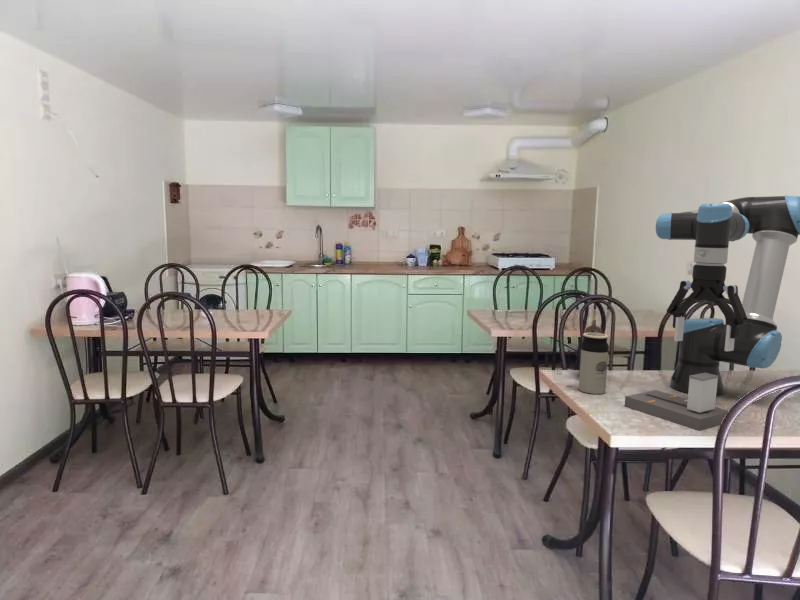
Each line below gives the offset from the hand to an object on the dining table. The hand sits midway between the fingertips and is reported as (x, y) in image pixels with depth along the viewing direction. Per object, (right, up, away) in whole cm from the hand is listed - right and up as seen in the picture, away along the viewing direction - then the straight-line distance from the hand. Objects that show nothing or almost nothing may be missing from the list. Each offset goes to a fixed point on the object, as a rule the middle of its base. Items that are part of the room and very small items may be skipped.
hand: (702, 345), depth 144 cm
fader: (+1, -17, +2) cm, 17 cm away
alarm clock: (-14, -15, +46) cm, 50 cm away
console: (-3, -20, +9) cm, 22 cm away
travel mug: (-19, -17, +29) cm, 39 cm away
